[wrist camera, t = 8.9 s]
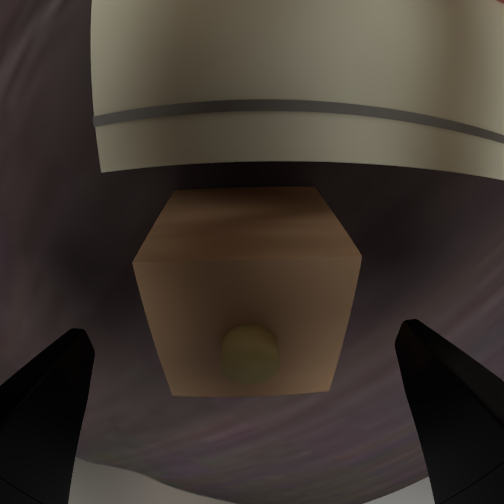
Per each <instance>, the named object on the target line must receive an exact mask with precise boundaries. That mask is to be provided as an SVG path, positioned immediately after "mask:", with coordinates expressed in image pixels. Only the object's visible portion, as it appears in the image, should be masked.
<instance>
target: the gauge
mask: <svg viewBox="0 0 504 504" xmlns="http://www.w3.org/2000/svg"><path fill="white" fill-rule="evenodd" d="M361 261H362V255H361V253H360V252H359V250H358V249H357V247H356V246H355V244H354V243H353V241H352V240H351V238H350V237H349V235H348V234H347V232H346V231H345V229H344V228H343V226H342V225H341V223H340V222H339V220H338V219H337V217H336V216H335V215H334V213H333V212H332V210H331V209H330V207H329V206H328V205H327V203H326V202H325V200H324V199H323V197H322V196H321V195H320V193H319V192H318V190H317V189H316V188H315V187H235V188H208V189H187V190H174V192H173V194H172V195H171V197H170V198H169V200H168V202H167V203H166V205H165V207H164V208H163V210H162V212H161V213H160V215H159V217H158V218H157V220H156V222H155V223H154V225H153V227H152V228H151V230H150V232H149V234H148V235H147V237H146V239H145V241H144V242H143V244H142V246H141V248H140V249H139V251H138V253H137V255H136V257H135V258H134V260H133V262H132V264H133V268H134V272H135V276H136V280H137V284H138V288H139V292H140V296H141V299H142V303H143V307H144V310H145V314H146V317H147V321H148V324H149V327H150V331H151V334H152V337H153V340H154V344H155V347H156V350H157V353H158V356H159V359H160V362H161V365H162V368H163V371H164V374H165V376H166V379H167V382H168V385H169V387H170V390H171V393H172V396H190V397H255V396H276V395H291V394H303V393H314V392H323V391H329V390H330V386H331V383H332V380H333V376H334V373H335V370H336V366H337V363H338V359H339V356H340V352H341V348H342V344H343V341H344V337H345V333H346V329H347V325H348V321H349V317H350V313H351V308H352V304H353V299H354V295H355V290H356V286H357V281H358V276H359V271H360V266H361Z"/></svg>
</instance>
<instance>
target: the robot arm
mask: <svg viewBox="0 0 504 504" xmlns="http://www.w3.org/2000/svg"><path fill="white" fill-rule="evenodd" d="M395 350H396V354H397V358H398V362H399V367H400V371H401V376H402V380H403V385H404V389H405V393H406V396H407V400H408V403H409V406H410V409H411V412H412V416H413V419H414V422H415V426H416V429H417V432H418V436H419V440H420V443H421V447H422V451H423V454H424V458H425V462H426V466H427V470H428V474H429V478H430V483H431V487H432V491H433V496H434V501H435V504H504V382H503V380H501V379H500V378H499V377H497V376H496V375H495V374H493V373H492V372H491V371H489V370H488V369H486V368H485V367H484V366H482V365H481V364H480V363H478V362H477V361H476V360H474V359H473V358H471V357H470V356H469V355H467V354H466V353H464V352H463V351H462V350H460V349H459V348H457V347H456V346H455V345H453V344H452V343H450V342H449V341H448V340H446V339H445V338H443V337H442V336H440V335H439V334H438V333H436V332H435V331H433V330H432V329H430V328H429V327H428V326H426V325H425V324H423V323H422V322H420V321H419V320H417V319H411V320H405V321H404V322H403V323H402V325H401V327H400V330H399V333H398V335H397V338H396V340H395ZM94 357H95V352H94V348H93V346H92V344H91V341H90V339H89V337H88V335H87V333H86V331H85V330H84V329H77V328H72V329H70V330H69V331H67V332H66V333H65V334H63V335H62V336H61V337H60V338H58V339H57V340H56V341H55V342H53V343H52V344H51V345H49V346H48V347H47V348H46V349H44V350H43V351H42V352H41V353H39V354H38V355H37V356H36V357H35V358H33V359H32V360H31V361H30V362H28V363H27V364H26V365H25V366H24V367H22V368H21V369H20V370H19V371H17V372H16V373H15V374H14V375H13V376H11V378H9V379H8V380H7V381H6V382H4V383H3V384H2V385H1V386H0V504H68V500H69V492H70V485H71V478H72V473H73V466H74V461H75V455H76V450H77V445H78V440H79V435H80V431H81V426H82V422H83V417H84V413H85V409H86V405H87V400H88V394H89V387H90V381H91V375H92V369H93V363H94Z"/></svg>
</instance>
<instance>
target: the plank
mask: <svg viewBox="0 0 504 504" xmlns="http://www.w3.org/2000/svg"><path fill="white" fill-rule="evenodd" d="M91 77H92V95H93V108H94V116H93V125H94V127H95V129H96V138H97V146H98V153H99V160H100V167H101V173H102V172H110V171H118V170H127V169H136V168H146V167H157V166H169V165H183V164H198V163H218V162H247V161H315V162H344V163H363V164H378V165H391V166H403V167H414V168H423V169H432V170H441V171H448V172H456V173H463V174H470V175H476V176H483V177H489V178H494V179H500V180H504V4H503V3H501V2H499V1H496V0H92V10H91Z"/></svg>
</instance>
